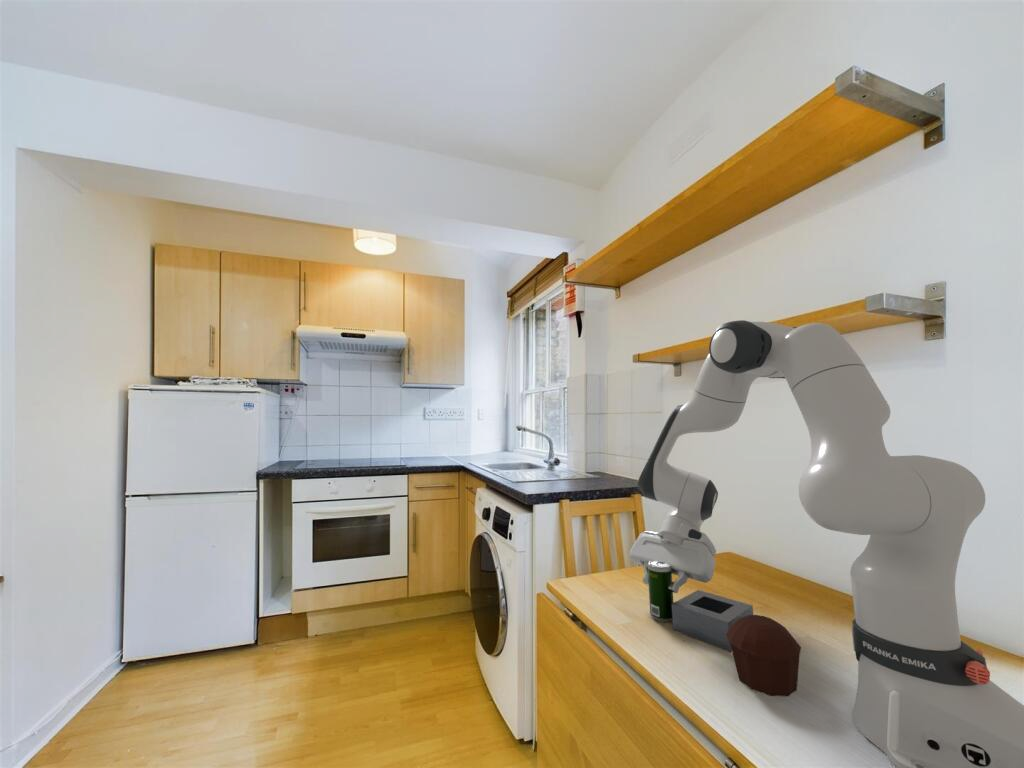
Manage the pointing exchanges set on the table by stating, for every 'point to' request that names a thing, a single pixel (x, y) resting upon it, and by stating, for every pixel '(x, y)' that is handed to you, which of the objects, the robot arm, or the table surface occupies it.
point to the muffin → (765, 655)
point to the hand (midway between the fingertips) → (659, 587)
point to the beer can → (660, 591)
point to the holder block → (708, 617)
